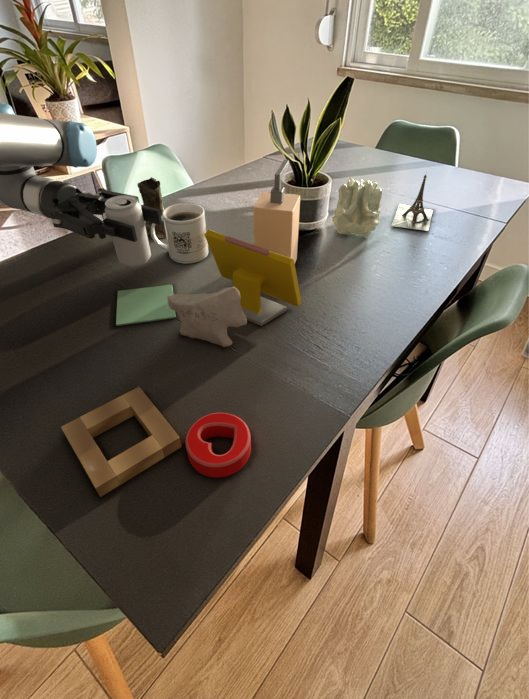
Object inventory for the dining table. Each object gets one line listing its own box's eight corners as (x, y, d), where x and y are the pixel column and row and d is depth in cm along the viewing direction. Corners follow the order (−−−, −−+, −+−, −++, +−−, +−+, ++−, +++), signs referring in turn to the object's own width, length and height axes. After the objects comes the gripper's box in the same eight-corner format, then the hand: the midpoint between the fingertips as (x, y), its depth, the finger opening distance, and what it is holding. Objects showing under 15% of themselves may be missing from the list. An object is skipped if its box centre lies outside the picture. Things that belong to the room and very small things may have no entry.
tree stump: (182, 222, 119) (174, 173, 110) (169, 239, 112) (160, 189, 103) (148, 219, 121) (138, 171, 112) (134, 236, 114) (122, 186, 105)
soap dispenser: (289, 277, 99) (294, 183, 84) (254, 272, 101) (252, 179, 86) (300, 250, 108) (305, 161, 93) (267, 246, 110) (267, 157, 95)
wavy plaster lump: (360, 258, 118) (380, 224, 104) (317, 240, 119) (331, 204, 104) (380, 209, 124) (401, 171, 109) (338, 192, 125) (354, 152, 110)
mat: (116, 326, 87) (115, 324, 86) (118, 292, 95) (117, 290, 95) (175, 318, 88) (175, 316, 88) (172, 285, 97) (172, 284, 97)
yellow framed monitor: (301, 314, 89) (306, 247, 78) (280, 335, 84) (283, 267, 74) (225, 284, 97) (220, 219, 87) (203, 301, 93) (195, 235, 82)
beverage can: (137, 271, 81) (123, 211, 73) (111, 263, 83) (94, 204, 75) (158, 256, 85) (147, 197, 77) (133, 248, 87) (119, 191, 79)
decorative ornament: (261, 438, 67) (261, 425, 65) (230, 488, 61) (228, 476, 58) (210, 415, 70) (208, 402, 68) (175, 460, 64) (172, 448, 62)
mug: (187, 269, 102) (180, 226, 94) (153, 253, 107) (144, 212, 100) (216, 251, 108) (212, 209, 100) (182, 237, 113) (177, 196, 106)
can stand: (100, 497, 59) (95, 488, 58) (65, 436, 67) (60, 426, 65) (182, 446, 66) (179, 437, 64) (142, 396, 73) (139, 386, 71)
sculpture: (253, 345, 82) (252, 280, 72) (244, 361, 79) (241, 295, 69) (178, 325, 87) (166, 261, 76) (166, 339, 84) (153, 274, 73)
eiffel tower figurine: (398, 205, 128) (408, 158, 119) (433, 210, 125) (446, 163, 116) (391, 227, 118) (401, 178, 108) (429, 233, 115) (443, 184, 106)
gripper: (95, 199, 93) (182, 222, 85) (22, 238, 81) (115, 269, 73) (85, 164, 88) (176, 185, 80) (5, 200, 76) (104, 229, 68)
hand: (147, 225), depth 77 cm, fingers closed on beverage can, 6 cm apart
